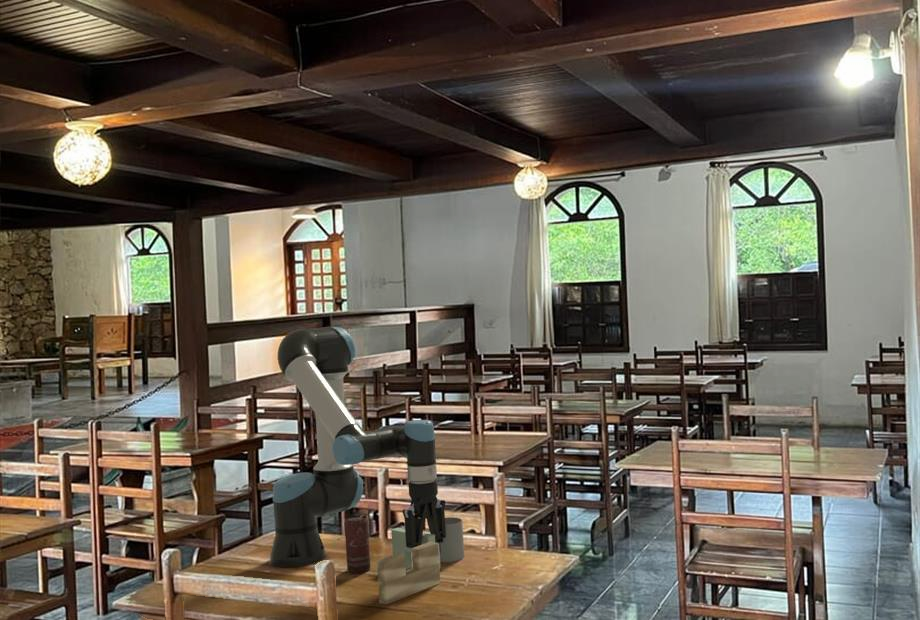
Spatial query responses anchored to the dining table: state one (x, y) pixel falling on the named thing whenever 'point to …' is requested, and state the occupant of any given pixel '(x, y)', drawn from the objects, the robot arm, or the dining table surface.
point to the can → (357, 544)
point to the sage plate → (400, 544)
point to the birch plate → (408, 573)
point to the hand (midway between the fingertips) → (428, 570)
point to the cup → (452, 541)
